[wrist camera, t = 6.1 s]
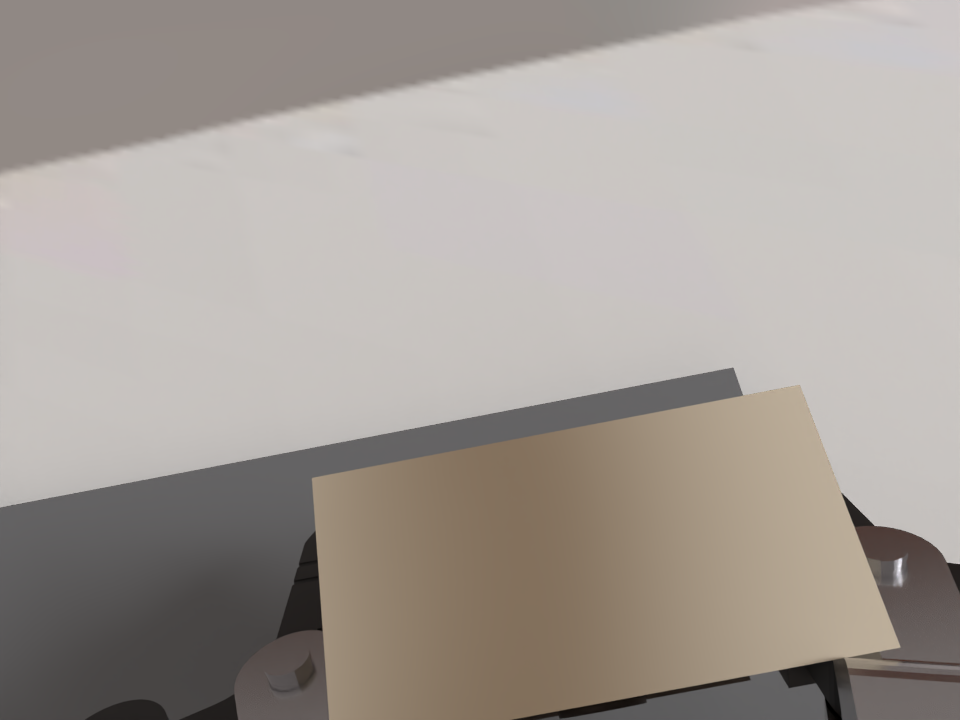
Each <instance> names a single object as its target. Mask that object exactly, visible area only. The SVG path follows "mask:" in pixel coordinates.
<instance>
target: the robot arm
mask: <svg viewBox="0 0 960 720" xmlns="http://www.w3.org/2000/svg"><path fill="white" fill-rule="evenodd" d="M841 494H842V493H841ZM842 496H843V499H844V501H845V504H846V507H847V509H848V512H849V514H850V517H851V520H852V522H853V525H854V527H855V530H856V533H857V535H858V538H859V540H860V543H861V546H862V548H863V551H864V553H865V556H866V559H867V561H868V564H869V566H870V569H871V572H872V574H873V577H874V579H875V582H876V585H877V587H878V590H879V592H880V595H881V598H882V600H883V603H884V605H885V608H886V611H887V613H888V616H889V618H890V621H891V624H892V626H893V629H894V631H895V634H896V637H897V639H898V642H899V644H900V647H901V648H896V649H890V650H885V651H880V652H874V653H869V654H863V655H858V656H853V657H843V658H842V659H836V660H831V661H826V662H820V663H815V664H810V665H804V666H799V667H793V668H788V669H783V670H778V671H779V672H780V674H781V676H782V677H783V679H784V681H785V682H786V684H787V686H788V688H793V687H799V686H804V685H809V684H815V683H816V684H817V685H818V687H819V689H820V690H821V692H822V693H823V695H824V706H825V720H960V564H953V563H947V562H946V560H945V558H944V557H943V555H942V553H941V552H940V551H939V550H938V549H937V548H936V547H935V546H933V545H932V544H931V543H930V542H928V541H926V540H924V539H923V538H921V537H919V536H916V535H914V534H912V533H909V532H906V531H903V530H898V529H894V528H888V527H881V526H874V525H873V524H872V523H871V522H870V521H869V520H868V519H867V518H866V517H865V516H864V515H863V514H862V513H861V512H860V511H859V510H858V509H857V508H856V507H855V506H854V505H853V504H852V503H851V502H850V501H849V500H848V499H847V498H846V497H845V496H844V495H843V494H842ZM85 720H169V719H168V716H167V714H166V712H165V710H164V708H163V707H162V706H161V705H160V704H158V703H156V702H154V701H151V700H144V699H138V700H130V701H125V702H121V703H118V704H115V705H112V706H109V707H107V708H105V709H102V710H101V711H99V712H97V713H95V714H93V715H91V716H90V717H88V718H87V719H85ZM180 720H329V710H328V696H327V682H326V668H325V654H324V640H323V626H322V612H321V598H320V584H319V570H318V556H317V543H316V531H315V532H314V533H313V534H312V535H311V536H310V537H309V539H308V540H307V541H306V542H305V544H304V547H303V551H302V554H301V557H300V561H299V567H298V568H297V571H296V574H295V578H294V585H292V588H291V591H290V595H289V598H288V601H287V605H286V608H285V611H284V615H283V618H282V621H281V625H280V628H279V632H278V635H277V638H276V640H274V641H272V642H270V643H269V644H267V645H265V646H264V647H263V648H261V649H260V650H258V651H257V652H256V653H255V654H254V655H253V656H252V657H250V658H249V660H248V661H247V662H246V663H245V664H244V665H243V667H242V669H241V670H240V672H239V674H238V676H237V678H236V681H235V685H234V694H233V695H232V696H230V697H228V698H227V699H225V700H223V701H221V702H219V703H217V704H215V705H212V706H210V707H208V708H205V709H203V710H201V711H198V712H196V713H194V714H191V715H189V716H187V717H184V718H182V719H180Z"/></svg>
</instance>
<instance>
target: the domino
mask: <svg viewBox="0 0 960 720" xmlns="http://www.w3.org/2000/svg"><path fill="white" fill-rule="evenodd" d="M312 487H313V501H314V515H315V529H316V543H317V556H318V570H319V584H320V598H321V612H322V626H323V640H324V654H325V668H326V682H327V696H328V710H329V720H538V719H544V718H549V717H555V716H559V719H563V718H569V717H576V716H581V715H587V714H593V713H598V712H604V711H609V710H614V709H620V708H625V707H630V706H635V705H640V704H644V703H647V701H646V699H652V698H657V697H663V696H668V695H673V694H679V693H684V692H690V691H695V690H700V689H706V688H711V687H717V686H722V685H727V684H733V683H738V682H744V681H749V680H751V679H750V675H756V674H761V673H766V672H772V671H777V670H783V669H788V668H793V667H799V666H804V665H810V664H815V663H820V662H826V661H831V660H836V659H842V658H843V657H853V656H858V655H863V654H869V653H874V652H880V651H885V650H890V649H896V648H901V647H900V644H899V642H898V639H897V637H896V634H895V631H894V629H893V626H892V624H891V621H890V618H889V616H888V613H887V611H886V608H885V605H884V603H883V600H882V598H881V595H880V592H879V590H878V587H877V585H876V582H875V579H874V577H873V574H872V572H871V569H870V566H869V564H868V561H867V559H866V556H865V553H864V551H863V548H862V546H861V543H860V540H859V538H858V535H857V533H856V530H855V527H854V525H853V522H852V520H851V517H850V514H849V512H848V509H847V507H846V504H845V501H844V499H843V496H842V494H841V491H840V488H839V486H838V483H837V481H836V478H835V475H834V473H833V470H832V468H831V465H830V462H829V460H828V457H827V455H826V452H825V449H824V447H823V444H822V442H821V439H820V436H819V434H818V431H817V429H816V426H815V423H814V421H813V418H812V416H811V413H810V410H809V408H808V405H807V403H806V400H805V397H804V395H803V392H802V390H801V387H800V385H797V386H791V387H786V388H781V389H776V390H770V391H765V392H760V393H755V394H749V395H744V396H739V397H734V398H728V399H723V400H718V401H713V402H707V403H702V404H697V405H692V406H686V407H681V408H676V409H671V410H665V411H660V412H655V413H650V414H644V415H639V416H634V417H629V418H624V419H618V420H613V421H608V422H603V423H597V424H592V425H587V426H582V427H576V428H571V429H566V430H561V431H555V432H550V433H545V434H540V435H534V436H529V437H524V438H519V439H513V440H508V441H503V442H498V443H492V444H487V445H482V446H477V447H471V448H466V449H461V450H456V451H450V452H445V453H440V454H435V455H430V456H424V457H419V458H414V459H409V460H403V461H398V462H393V463H388V464H382V465H377V466H372V467H367V468H361V469H356V470H351V471H346V472H340V473H335V474H330V475H325V476H319V477H314V478H312Z"/></svg>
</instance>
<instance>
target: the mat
mask: <svg viewBox="0 0 960 720" xmlns="http://www.w3.org/2000/svg"><path fill="white" fill-rule="evenodd" d="M739 396H743V394H742V391H741V389H740V386H739V383H738V380H737V377H736V374H735V371H734V368H729V369H724V370H718V371H713V372H708V373H703V374H698V375H692V376H687V377H682V378H677V379H671V380H666V381H661V382H656V383H650V384H645V385H640V386H635V387H629V388H624V389H619V390H614V391H608V392H603V393H598V394H593V395H588V396H582V397H577V398H572V399H567V400H561V401H556V402H551V403H546V404H540V405H535V406H530V407H525V408H519V409H514V410H509V411H504V412H498V413H493V414H488V415H483V416H478V417H472V418H467V419H462V420H457V421H451V422H446V423H441V424H436V425H430V426H425V427H420V428H415V429H409V430H404V431H399V432H394V433H388V434H383V435H378V436H373V437H368V438H362V439H357V440H352V441H347V442H341V443H336V444H331V445H326V446H320V447H315V448H310V449H305V450H299V451H294V452H289V453H284V454H278V455H273V456H268V457H263V458H258V459H252V460H247V461H242V462H237V463H231V464H226V465H221V466H216V467H210V468H205V469H200V470H195V471H189V472H184V473H179V474H174V475H168V476H163V477H158V478H153V479H148V480H142V481H137V482H132V483H127V484H121V485H116V486H111V487H106V488H100V489H95V490H90V491H85V492H79V493H74V494H69V495H64V496H59V497H53V498H48V499H43V500H38V501H32V502H27V503H22V504H17V505H11V506H6V507H1V508H0V720H85V719H87V718H88V717H90V716H91V715H93V714H95V713H97V712H99V711H101V710H102V709H105V708H107V707H109V706H112V705H115V704H118V703H121V702H125V701H130V700H138V699H144V700H151V701H154V702H156V703H158V704H160V705H161V706H162V707H163V708H164V710H165V712H166V714H167V716H168V719H169V720H180V719H182V718H184V717H187V716H189V715H191V714H194V713H196V712H198V711H201V710H203V709H205V708H208V707H210V706H212V705H215V704H217V703H219V702H221V701H223V700H225V699H227V698H228V697H230V696H232V695H233V694H234V685H235V681H236V678H237V676H238V674H239V672H240V670H241V669H242V667H243V665H244V664H245V663H246V662H247V661H248V660H249V658H250V657H252V656H253V655H254V654H255V653H256V652H257V651H258V650H260V649H261V648H263V647H264V646H265V645H267V644H269V643H270V642H272V641H274V640H276V638H277V635H278V632H279V628H280V625H281V621H282V618H283V615H284V611H285V608H286V605H287V601H288V598H289V595H290V591H291V588H292V585H294V578H295V574H296V571H297V568H298V567H299V561H300V557H301V554H302V551H303V547H304V544H305V542H306V541H307V540H308V539H309V537H310V536H311V535H312V534H313V533H314V532H315V531H316V529H315V515H314V501H313V487H312V478H314V477H319V476H325V475H330V474H335V473H340V472H346V471H351V470H356V469H361V468H367V467H372V466H377V465H382V464H388V463H393V462H398V461H403V460H409V459H414V458H419V457H424V456H430V455H435V454H440V453H445V452H450V451H456V450H461V449H466V448H471V447H477V446H482V445H487V444H492V443H498V442H503V441H508V440H513V439H519V438H524V437H529V436H534V435H540V434H545V433H550V432H555V431H561V430H566V429H571V428H576V427H582V426H587V425H592V424H597V423H603V422H608V421H613V420H618V419H624V418H629V417H634V416H639V415H644V414H650V413H655V412H660V411H665V410H671V409H676V408H681V407H686V406H692V405H697V404H702V403H707V402H713V401H718V400H723V399H728V398H734V397H739ZM750 679H751V680H749V681H744V682H738V683H733V684H727V685H722V686H717V687H711V688H706V689H700V690H695V691H690V692H684V693H679V694H673V695H668V696H663V697H657V698H652V699H646V701H647V703H644V704H640V705H635V706H630V707H625V708H620V709H614V710H609V711H604V712H598V713H593V714H587V715H581V716H576V717H569V718H563V719H559V716H555V717H549V718H544V719H538V720H825V706H824V695H823V693H822V692H821V690H820V689H819V687H818V685H817V684H816V683H815V684H809V685H804V686H799V687H793V688H788V686H787V684H786V682H785V681H784V679H783V677H782V676H781V674H780V672H779V671H778V670H777V671H772V672H766V673H761V674H756V675H750Z"/></svg>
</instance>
